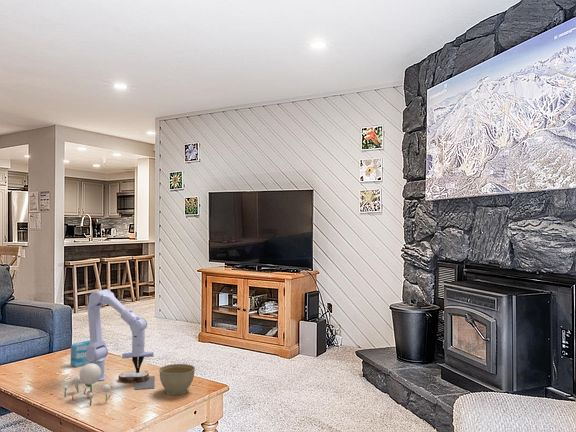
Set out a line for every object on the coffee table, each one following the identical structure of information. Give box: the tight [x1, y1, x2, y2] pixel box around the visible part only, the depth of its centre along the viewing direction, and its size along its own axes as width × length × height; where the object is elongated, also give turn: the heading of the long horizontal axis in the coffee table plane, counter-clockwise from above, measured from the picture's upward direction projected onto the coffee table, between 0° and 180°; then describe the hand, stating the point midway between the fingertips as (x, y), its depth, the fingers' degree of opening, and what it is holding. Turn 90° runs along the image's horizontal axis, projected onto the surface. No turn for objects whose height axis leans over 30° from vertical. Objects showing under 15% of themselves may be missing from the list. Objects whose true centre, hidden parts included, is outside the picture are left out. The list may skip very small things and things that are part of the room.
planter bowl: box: [159, 363, 196, 396], centre depth 223 cm, size 16×16×11 cm
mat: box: [134, 375, 156, 391], centre depth 235 cm, size 9×18×1 cm, turn 15°
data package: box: [70, 340, 90, 368], centre depth 264 cm, size 12×4×12 cm, turn 143°
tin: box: [118, 371, 150, 383], centre depth 239 cm, size 15×3×8 cm
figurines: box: [63, 363, 111, 407], centre depth 213 cm, size 25×12×15 cm, turn 57°
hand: (137, 372), depth 234 cm, fingers closed
